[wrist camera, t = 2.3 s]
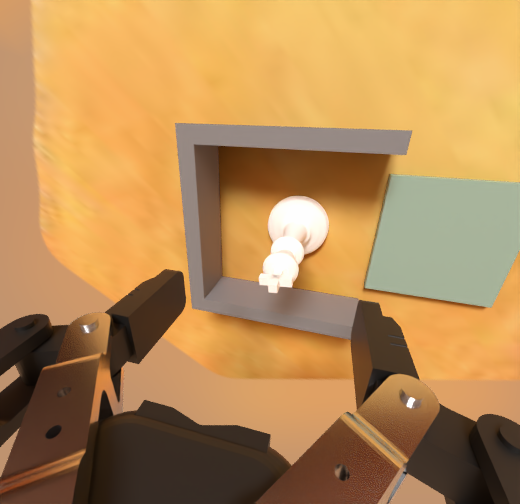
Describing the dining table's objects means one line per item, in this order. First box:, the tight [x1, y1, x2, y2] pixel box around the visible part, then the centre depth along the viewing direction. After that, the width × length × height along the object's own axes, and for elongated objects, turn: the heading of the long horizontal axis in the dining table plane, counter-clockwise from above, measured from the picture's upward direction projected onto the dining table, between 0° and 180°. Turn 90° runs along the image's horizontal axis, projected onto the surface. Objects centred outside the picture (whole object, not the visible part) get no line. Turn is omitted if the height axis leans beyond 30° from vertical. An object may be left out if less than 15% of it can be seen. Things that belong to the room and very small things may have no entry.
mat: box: [364, 174, 520, 308], centre depth 19 cm, size 9×9×1 cm
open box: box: [175, 123, 412, 340], centre depth 20 cm, size 14×14×4 cm
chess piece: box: [259, 196, 329, 293], centre depth 17 cm, size 5×5×10 cm
